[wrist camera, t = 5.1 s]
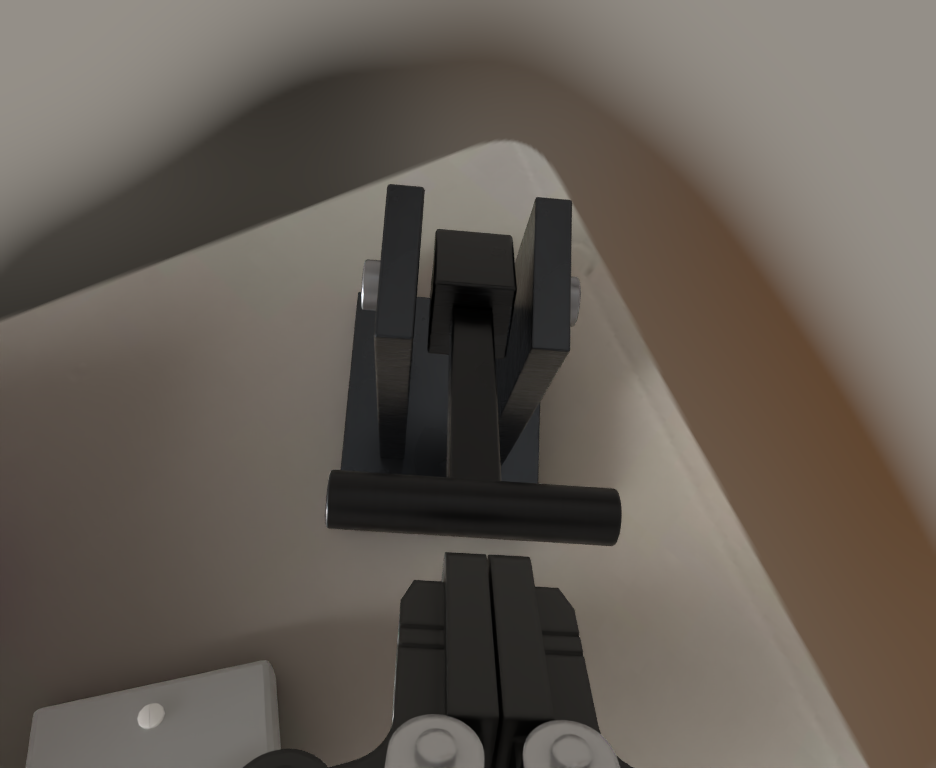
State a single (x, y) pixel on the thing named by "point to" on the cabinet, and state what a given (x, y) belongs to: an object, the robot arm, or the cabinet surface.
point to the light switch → (164, 724)
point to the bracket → (426, 374)
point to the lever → (472, 426)
